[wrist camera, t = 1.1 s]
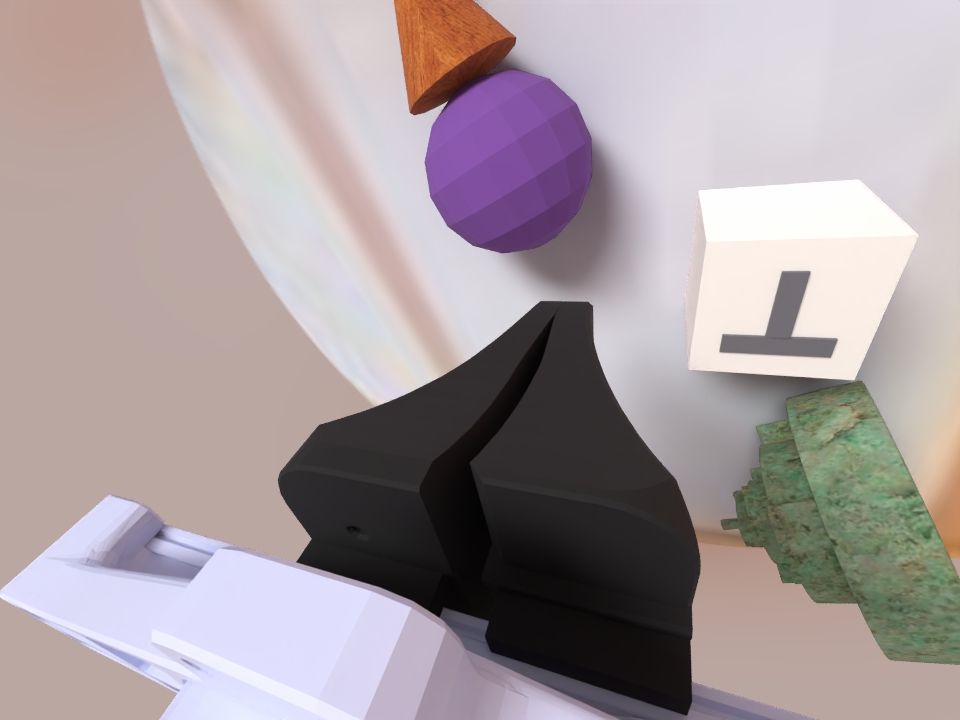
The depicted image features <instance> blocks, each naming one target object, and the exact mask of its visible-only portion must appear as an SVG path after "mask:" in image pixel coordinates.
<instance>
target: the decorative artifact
mask: <svg viewBox="0 0 960 720" xmlns="http://www.w3.org/2000/svg"><path fill="white" fill-rule="evenodd" d="M786 407H787V413H788V418H789V419H788V420H784V421H779V422H774V423H770V424H765V425H760V426H756V428H757V431H758V433H759V436H760V439H761V442H762V444H763V445H761V446H760V449H759V460H760V468H754V469H750V471H751V474H752V478H753V481H749V482H748V486H743V487H742V491H735V492H734V493H733V496H734V498H735V501H736V512H737V517H738V518H734V519H724V520H721V525H722V528H723V529H724V530H729V529H739V530H740V533H741V535H742V538H743V540H744V542H745V544H746V546H751V547H765V549H766V551H767V553H768V555H769V556H770V558H771V559H772V560H773V562H774V563H776V564H777V567H778V570H779V574H780V577H781V580H782V582H783V583H795V584H802V585H803V586H804V588H805V590H806V592H807V593H808V595H809V596H810V597H811V598H812V600H813V601H814V602H816V603H857V604H858V606H859V608H860V610H861V612H862V614H863V616H864V618H865V620H866V622H867V624H868V626H869V628H870V630H871V632H872V634H873V636H874V638H875V640H876V641H877V643H878V645H879V646H880V648H881V649H882V651H883V653H884V654H885V655H886V657H887V658H888V659H890V660H895V661H909V662H924V663H925V662H926V663H939V664H954V665H960V578H959V576H958V574H957V572H956V570H955V567H954V565H953V563H952V561H951V559H950V557H949V554H948V552H947V550H946V548H945V546H944V544H943V542H942V539H941V537H940V535H939V533H938V531H937V529H936V527H935V525H934V522H933V520H932V518H931V516H930V514H929V512H928V510H927V508H926V506H925V504H924V501H923V499H922V497H921V495H920V493H919V491H918V489H917V487H916V485H915V483H914V481H913V479H912V477H911V475H910V472H909V470H908V468H907V466H906V464H905V462H904V460H903V458H902V456H901V454H900V452H899V450H898V448H897V446H896V444H895V442H894V440H893V438H892V436H891V434H890V432H889V430H888V428H887V426H886V424H885V422H884V420H883V418H882V416H881V414H880V412H879V410H878V408H877V406H876V405H875V403H874V401H873V399H872V397H871V395H870V393H869V392H868V390H867V388H866V386H865V385H864V383H863V382H862V381H857V382H853V383H849V384H845V385H841V386H836V387H832V388H828V389H824V390H820V391H816V392H811V393H807V394H803V395H799V396H795V397H791V398H787V400H786Z"/></svg>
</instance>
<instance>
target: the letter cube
mask: <svg viewBox="0 0 960 720" xmlns="http://www.w3.org/2000/svg"><path fill="white" fill-rule="evenodd" d="M918 236H919V235H918V234H917V233H916V232H915V231H914V230H913V229H911V228H910V227H909V226H908V225H907V224H906V223H905V222H904V221H903V220H902V219H901V218H900V217H899V216H898V215H896V214H895V213H894V212H893V211H892V210H891V209H890V208H889V207H888V206H887V205H886V204H885V203H884V202H882V201H881V200H880V199H879V198H878V197H877V196H876V195H875V194H874V193H873V192H872V191H871V190H870V189H868V188H867V187H866V186H865V185H864V184H863V183H862V182H861V181H860V180H844V181H830V182H815V183H801V184H786V185H772V186H757V187H743V188H728V189H714V190H699V191H698V198H697V206H696V214H695V222H694V230H693V238H692V246H691V254H690V262H689V270H688V278H687V286H686V295H685V321H686V340H687V359H688V370H702V371H718V372H733V373H749V374H764V375H780V376H795V377H811V378H826V379H842V380H855V378H856V376H857V373H858V371H859V369H860V367H861V364H862V362H863V360H864V358H865V355H866V353H867V351H868V349H869V346H870V344H871V342H872V340H873V337H874V335H875V333H876V331H877V328H878V326H879V324H880V322H881V319H882V317H883V315H884V313H885V310H886V308H887V306H888V304H889V301H890V299H891V297H892V294H893V292H894V290H895V288H896V285H897V283H898V281H899V279H900V276H901V274H902V272H903V270H904V267H905V265H906V263H907V261H908V258H909V256H910V254H911V252H912V249H913V247H914V245H915V243H916V240H917V238H918Z"/></svg>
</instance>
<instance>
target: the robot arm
mask: <svg viewBox="0 0 960 720" xmlns="http://www.w3.org/2000/svg"><path fill="white" fill-rule="evenodd" d="M278 484H279V488H280V492H281V495H282V497H283V498H284V500H285V502H286V504H287V505H288V506H289V508H290V509H291V511H292V512H293V513H294V515H295V516H296V517H297V519H298V520H299V522H300V523H301V524H302V526H303V527H304V528H305V530H306V531H307V533H308V534H309V535H310V537H311V538H312V540H311V541H310V543H309V544H308V545H307V547H306V548H305V550H304V551H303V553H302V555H301V556H300V557H299V559H298V560H297V562H293V561H289V560H286V559H282V558H279V557H276V556H272V555H269V554H265V553H262V552H259V551H256V550H252V549H249V548H242V547H239V546H236V545H232V544H229V543H226V542H222V541H219V540H216V539H212V538H209V537H206V536H202V535H199V534H196V533H192V532H189V531H186V530H182V529H179V528H176V527H172V526H169V525H165V524H164V521H163V520H162V518H160V517H159V516H158V514H157V513H155V512H154V511H153V510H152V509H151V508H149V507H147V506H146V505H144V504H142V503H140V502H137V501H133V500H130V499H126V498H123V497H119V496H115V495H109V496H107V497H106V498H105V499H104V500H103V501H101V502H100V503H99V504H98V505H97V506H96V507H95V508H93V509H92V510H91V511H90V512H89V513H88V514H87V515H85V516H84V517H83V518H82V519H81V520H80V521H79V522H78V523H77V524H75V525H74V526H73V527H72V528H71V529H70V530H69V531H67V532H66V533H65V534H64V535H63V536H62V537H60V538H59V539H58V540H57V541H56V542H55V543H54V544H53V545H51V546H50V547H49V548H48V549H47V550H46V551H45V552H43V554H41V555H40V556H39V557H38V558H37V559H35V560H34V561H33V562H32V563H31V564H30V565H29V566H27V567H26V568H25V569H24V570H23V571H22V572H21V573H20V574H18V575H17V576H16V577H15V578H14V579H13V580H12V581H11V582H9V583H8V584H7V585H6V586H5V587H4V588H3V589H1V590H0V598H2V599H3V600H5V601H7V602H9V603H11V604H12V605H14V606H16V607H18V608H19V609H21V610H23V611H25V612H26V613H28V614H30V615H32V616H33V617H35V618H37V619H39V620H40V621H42V622H44V623H46V624H47V625H49V626H51V627H53V628H54V629H56V630H58V631H60V632H61V633H63V634H65V635H67V636H69V637H70V638H72V639H74V640H76V641H78V642H79V643H81V644H83V645H85V646H86V647H88V648H90V649H92V650H95V651H96V652H99V653H100V654H102V655H104V656H106V657H108V658H110V659H112V660H115V661H116V662H118V663H120V664H122V665H124V666H126V667H128V668H130V669H132V670H134V671H136V672H138V673H140V674H142V675H143V676H145V677H147V678H149V679H151V680H153V681H155V682H157V683H159V684H161V685H163V686H165V687H167V688H169V689H170V690H172V691H175V692H176V693H178V694H177V695H176V697H175V698H174V700H173V701H172V703H171V704H170V705H169V707H168V708H167V710H166V711H165V712H164V714H163V715H162V717H161V718H160V719H159V720H817V719H814V718H811V717H807V716H804V715H801V714H797V713H794V712H790V711H787V710H784V709H781V708H777V707H774V706H770V705H767V704H764V703H760V702H757V701H754V700H751V699H747V698H744V697H740V696H737V695H734V694H730V693H727V692H723V691H720V690H717V689H714V688H710V687H707V686H704V685H700V684H697V683H693V682H692V679H691V678H692V676H691V645H690V640H691V639H692V630H693V628H692V603H693V598H694V595H695V591H696V587H697V583H698V579H699V575H700V566H701V565H700V553H699V549H698V543H697V539H696V535H695V531H694V528H693V524H692V521H691V518H690V515H689V512H688V510H687V507H686V504H685V501H684V499H683V496H682V494H681V491H680V489H679V486H678V484H677V481H676V479H675V478H674V477H673V476H672V475H671V473H670V472H669V471H668V470H667V469H666V468H665V467H664V466H663V465H662V463H661V462H660V461H659V460H658V459H657V458H656V456H655V455H654V454H653V453H652V452H651V450H650V449H649V448H648V446H647V445H646V444H645V443H644V441H643V440H642V439H641V437H640V436H639V435H638V433H637V432H636V430H635V429H634V427H633V426H632V424H631V423H630V421H629V420H628V418H627V416H626V415H625V413H624V412H623V410H622V409H621V407H620V405H619V403H618V402H617V400H616V398H615V396H614V394H613V392H612V390H611V388H610V386H609V384H608V382H607V380H606V377H605V375H604V373H603V370H602V367H601V365H600V362H599V359H598V356H597V353H596V349H595V345H594V338H593V306H592V305H591V304H590V303H589V302H562V301H540V302H539V303H538V304H537V305H535V306H534V307H533V308H532V309H531V310H530V311H529V312H528V313H526V314H525V315H524V316H523V317H522V318H521V319H520V320H518V321H517V322H516V323H515V324H514V325H513V326H512V327H510V328H509V329H508V330H507V331H506V332H504V333H503V334H502V335H501V336H500V337H498V338H497V339H496V340H495V341H493V342H492V343H491V344H489V345H488V346H487V347H485V348H484V349H483V350H481V351H480V352H479V353H477V354H476V355H475V356H473V357H472V358H470V359H469V360H468V361H466V362H464V363H463V364H461V365H460V366H458V367H457V368H455V369H453V370H452V371H450V372H448V373H447V374H445V375H443V376H442V377H440V378H438V379H436V380H434V381H432V382H430V383H428V384H426V385H424V386H422V387H420V388H418V389H416V390H414V391H412V392H410V393H408V394H406V395H404V396H401V397H399V398H397V399H394V400H392V401H389V402H387V403H384V404H382V405H379V406H377V407H374V408H371V409H369V410H366V411H363V412H360V413H357V414H354V415H350V416H347V417H344V418H341V419H338V420H335V421H331V422H328V423H324V424H321V425H319V426H318V427H317V428H316V429H315V431H314V432H313V433H312V434H311V435H310V437H309V438H308V439H307V440H306V442H305V443H304V444H303V445H302V446H301V447H300V449H299V450H298V451H297V452H296V453H295V455H294V456H293V457H292V458H291V460H290V461H289V462H288V463H287V464H286V466H285V467H284V468H283V469H282V470H281V472H280V474H279V478H278Z"/></svg>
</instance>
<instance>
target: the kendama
mask: <svg viewBox="0 0 960 720" xmlns="http://www.w3.org/2000/svg"><path fill="white" fill-rule="evenodd" d="M394 5H395V12H396V19H397V26H398V33H399V40H400V47H401V54H402V61H403V68H404V75H405V82H406V89H407V96H408V103H409V110H410V113H411V114H413V115H417V114H421V113H425V112H427V111H429V110H432V109H434V108H436V107H438V106H440V105H442V104H444V103H445V102H447V101H448V102H447V104H446V106H445V107H444V109H443V110H442V112H441V113H440V115H439V116H438V118H437V119H436V121H435V122H434V124H433V126H432V128H431V133H430V138H429V143H428V148H427V153H426V158H425V167H426V173H427V179H428V185H429V191H430V197H431V199H432V200H433V202H434V204H435V206H436V207H437V209H438V211H439V212H440V214H441V216H442V217H443V219H444V221H445V223H446V224H447V226H448V227H449V228H451V229H452V230H453V231H454V232H456V233H457V234H458V235H460V236H461V237H462V238H464V239H465V240H466V241H467V242H469V243H470V244H471V245H473V246H476V247H480V248H484V249H488V250H492V251H495V252H499V253H510V252H516V251H522V250H527V249H533V248H537V247H539V246H541V245H543V244H545V243H547V242H549V241H550V240H552V239H553V238H554V237H556V236H557V235H558V234H559V233H560V231H561V230H562V229H563V228H564V227H565V226H566V225H567V224H568V222H569V221H570V220H571V219H572V218H573V217H574V216H575V215H576V213H577V212H578V211H579V209H580V207H581V204H582V201H583V199H584V196H585V193H586V190H587V188H588V185H589V182H590V179H591V176H592V151H591V136H590V134H589V132H588V129H587V127H586V125H585V122H584V120H583V118H582V115H581V113H580V111H579V108H578V106H577V104H576V103H575V102H574V101H573V100H572V99H571V98H570V97H569V96H568V95H567V94H565V93H564V92H563V91H562V90H561V89H560V88H559V87H558V86H557V85H556V84H555V83H553V82H552V81H551V80H550V79H548V78H545V77H541V76H538V75H534V74H531V73H527V72H524V71H520V70H517V69H512V70H506V71H501V72H496V73H492V74H487V73H488V72H489V71H491V70H492V69H493V68H494V67H495V66H496V65H497V64H498V63H499V62H500V61H501V60H502V59H503V58H504V57H505V56H506V55H507V54H508V53H509V52H510V50H511V49H512V48H513V46H514V45H515V43H516V37H515V36H514V35H513V34H512V33H510V32H509V31H508V30H507V29H506V28H505V27H503V26H502V25H501V24H500V23H499V22H498V21H496V20H495V19H494V18H493V17H492V16H491V15H489V14H488V13H487V12H486V11H485V10H484V9H482V8H481V7H480V6H479V5H478V4H477V3H475V2H474V1H473V0H394ZM486 74H487V75H486Z"/></svg>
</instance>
